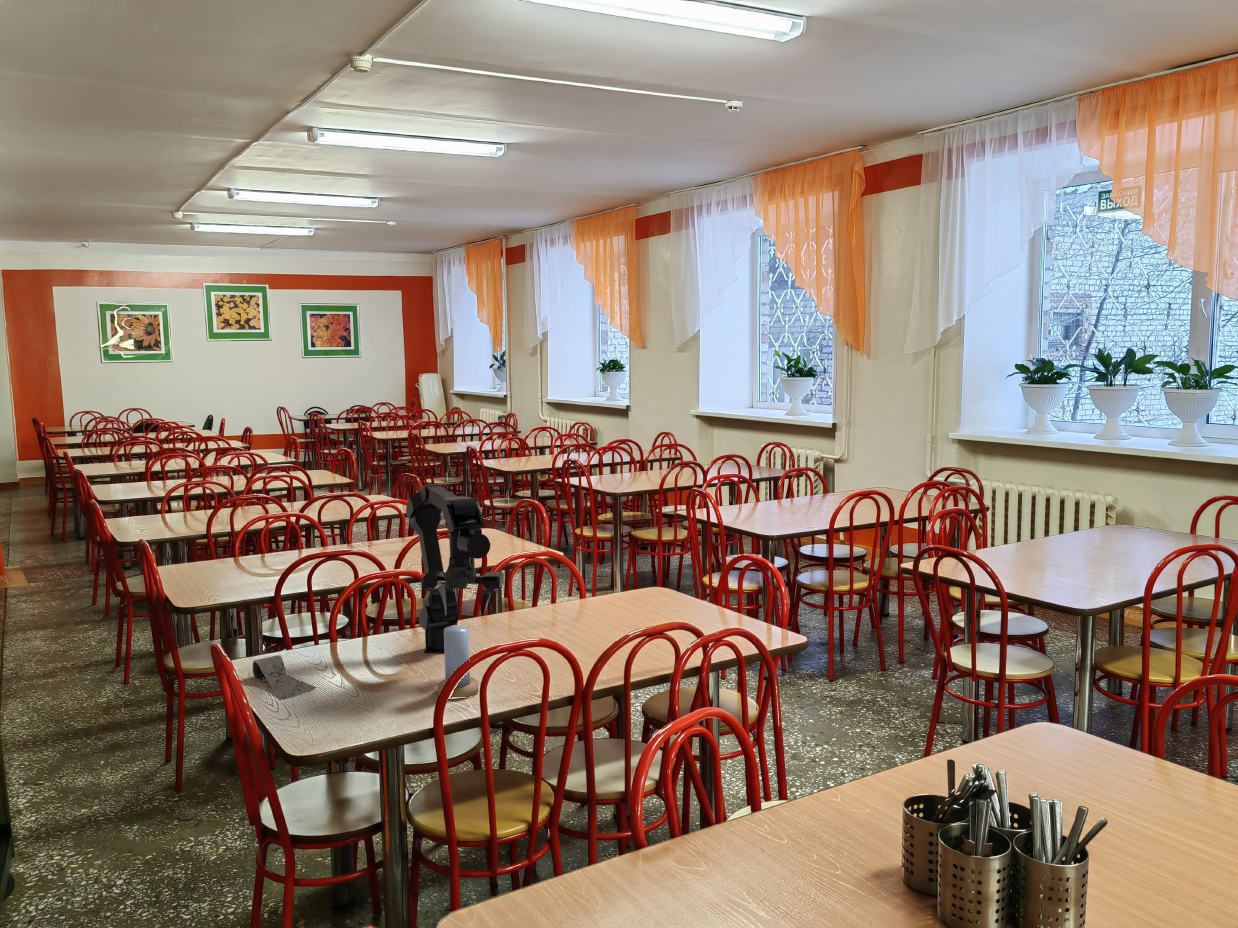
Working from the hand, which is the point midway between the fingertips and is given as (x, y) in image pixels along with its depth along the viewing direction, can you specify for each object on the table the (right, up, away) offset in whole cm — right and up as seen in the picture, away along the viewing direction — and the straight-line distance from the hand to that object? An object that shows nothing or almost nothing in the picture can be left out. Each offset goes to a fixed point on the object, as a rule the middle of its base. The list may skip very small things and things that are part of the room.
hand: (464, 615), depth 223 cm
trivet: (+1, -15, -14) cm, 21 cm away
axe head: (-40, -15, -8) cm, 43 cm away
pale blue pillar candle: (+1, -13, -15) cm, 20 cm away
